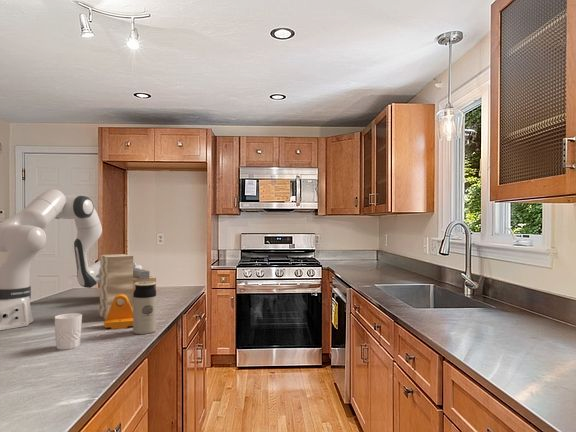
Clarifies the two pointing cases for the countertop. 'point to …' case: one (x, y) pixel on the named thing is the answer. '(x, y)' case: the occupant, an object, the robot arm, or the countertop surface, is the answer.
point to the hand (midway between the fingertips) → (124, 264)
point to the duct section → (140, 273)
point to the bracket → (119, 314)
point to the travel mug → (144, 308)
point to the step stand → (117, 280)
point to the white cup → (68, 330)
